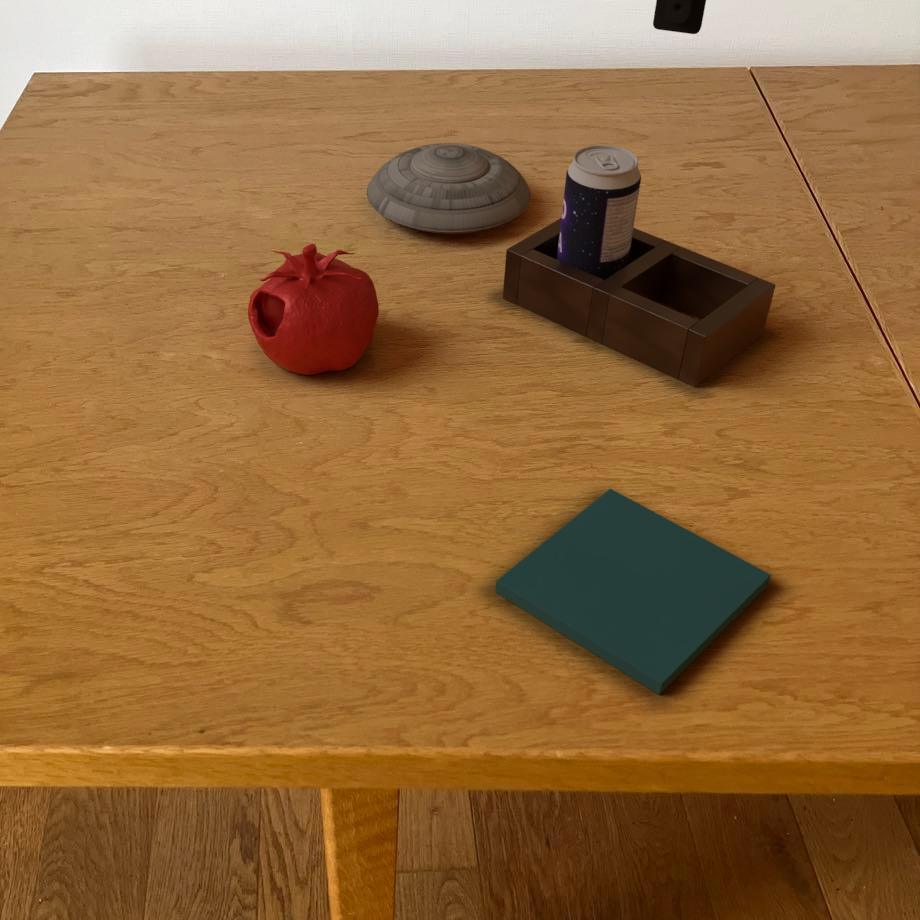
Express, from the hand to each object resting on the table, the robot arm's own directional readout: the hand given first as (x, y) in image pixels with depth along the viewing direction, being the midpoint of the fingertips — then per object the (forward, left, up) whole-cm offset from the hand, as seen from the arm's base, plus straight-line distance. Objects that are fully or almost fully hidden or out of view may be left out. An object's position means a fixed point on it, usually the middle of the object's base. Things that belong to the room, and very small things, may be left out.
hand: (688, 6), depth 85 cm
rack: (-2, +5, -23) cm, 23 cm away
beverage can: (+2, +5, -23) cm, 23 cm away
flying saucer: (+21, +1, -23) cm, 31 cm away
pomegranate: (+13, +26, -23) cm, 37 cm away
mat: (-20, +31, -23) cm, 43 cm away
